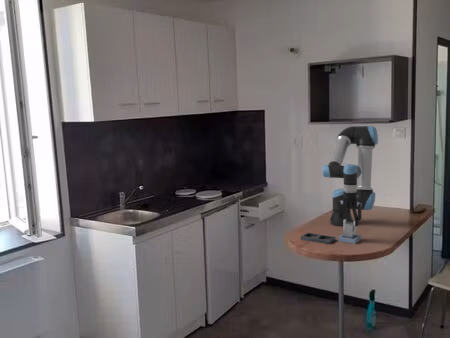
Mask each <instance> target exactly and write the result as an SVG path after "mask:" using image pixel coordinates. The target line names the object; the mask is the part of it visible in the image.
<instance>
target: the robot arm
mask: <svg viewBox="0 0 450 338" xmlns="http://www.w3.org/2000/svg"><path fill="white" fill-rule="evenodd" d="M378 144H379V134H378V130H377V128H376V126H373V125H372V126H371V125H362V126H360V125H358V126H355V125H353V126H352V125H351V126H348V127H346V128H343V130H342V131H341V132H340V133H338V134H337V137H336V139H335V146H334V150H333V151H332V153H331V157H330V159H329V162H328V164H324V165H323V166H322V176H323V177H324V178H329V179H330V178H332V179H343V188H337V189H334V190H333V192H332V212H331V215H330V217H329V224H331V225H332V226H338V227H342V228H343V230H342V231H343V232H344V224H345V223H346V222H352V223H354V230H353V232H357V229H358V228H357V227H358V226H359V221H361V220H362V216H363V215H362V210H363V211H371V210H372V209H373V208H374V207H375V202H376V192H374V189H373V188H372V184H371V183H372V166H373V151H374V149H375V148H376V145H378ZM351 145H356V146H355V147H356V148H357V149H358V152H357V153H358V154H357V155H358V157H357V164H355V163H354V164H345V165H343V162H344V159H345V157H346V153H347V150H348V148H349V147H350V146H351ZM351 211H352V213H351ZM352 214H353V215H352Z"/></svg>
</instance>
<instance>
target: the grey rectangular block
mask: <svg viewBox="0 0 450 338" xmlns="http://www.w3.org/2000/svg"><path fill="white" fill-rule="evenodd" d="M353 230H354V222H353V223H352V222H346V223H345V224H344V231H343V234H344V238H350V239H355V237H356V235H357V234H356V232H357V231H356V232H353Z"/></svg>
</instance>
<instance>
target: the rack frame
mask: <svg viewBox="0 0 450 338" xmlns="http://www.w3.org/2000/svg"><path fill="white" fill-rule="evenodd" d="M300 240H302V241H308V242H313V243H318V244H319V243H320V244H324V245H325V244H326V245H331V244H332V243H334V242H335V241H336V240H337V238H336V236H331V235H326V234H318V233H312V232H306V233H304V234H302V235H300Z"/></svg>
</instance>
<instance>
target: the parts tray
mask: <svg viewBox="0 0 450 338" xmlns="http://www.w3.org/2000/svg"><path fill="white" fill-rule="evenodd" d="M337 239H338V240H337V241H338V242H341V243H347V244H353V245H356V244H357V243H359V242H360V241H361V240H362V235H360V234H356V237H355V239H350V238H344V233H342V234H341V235H339V236H338V237H337Z"/></svg>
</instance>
